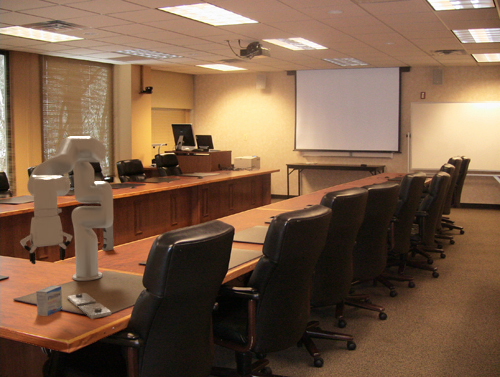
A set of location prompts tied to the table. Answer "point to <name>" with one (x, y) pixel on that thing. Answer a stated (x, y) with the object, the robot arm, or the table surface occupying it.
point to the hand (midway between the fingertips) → (47, 261)
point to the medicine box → (49, 300)
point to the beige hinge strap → (89, 305)
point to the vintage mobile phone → (108, 238)
